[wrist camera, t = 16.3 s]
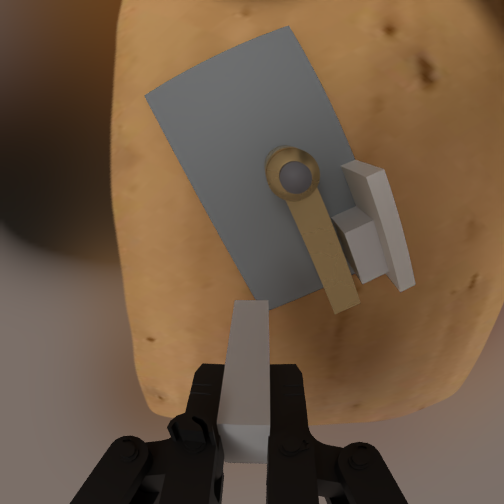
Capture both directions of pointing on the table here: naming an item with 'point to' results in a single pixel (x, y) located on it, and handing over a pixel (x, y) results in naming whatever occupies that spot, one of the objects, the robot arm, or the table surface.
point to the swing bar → (314, 227)
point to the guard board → (238, 147)
